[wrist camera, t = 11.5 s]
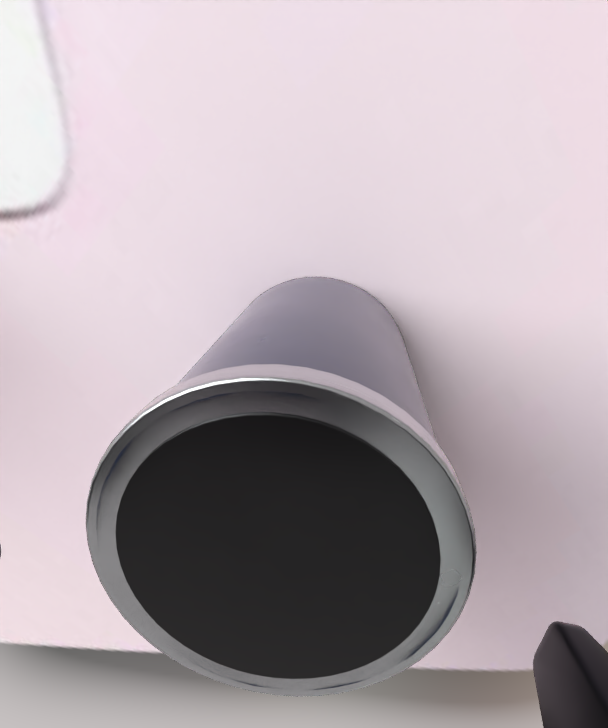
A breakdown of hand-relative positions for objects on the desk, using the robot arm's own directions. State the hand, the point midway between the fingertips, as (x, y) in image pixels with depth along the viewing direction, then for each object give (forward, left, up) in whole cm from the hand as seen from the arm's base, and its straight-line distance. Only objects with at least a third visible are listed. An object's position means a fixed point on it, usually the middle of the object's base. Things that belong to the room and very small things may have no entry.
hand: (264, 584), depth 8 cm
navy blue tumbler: (0, 0, -9) cm, 9 cm away
